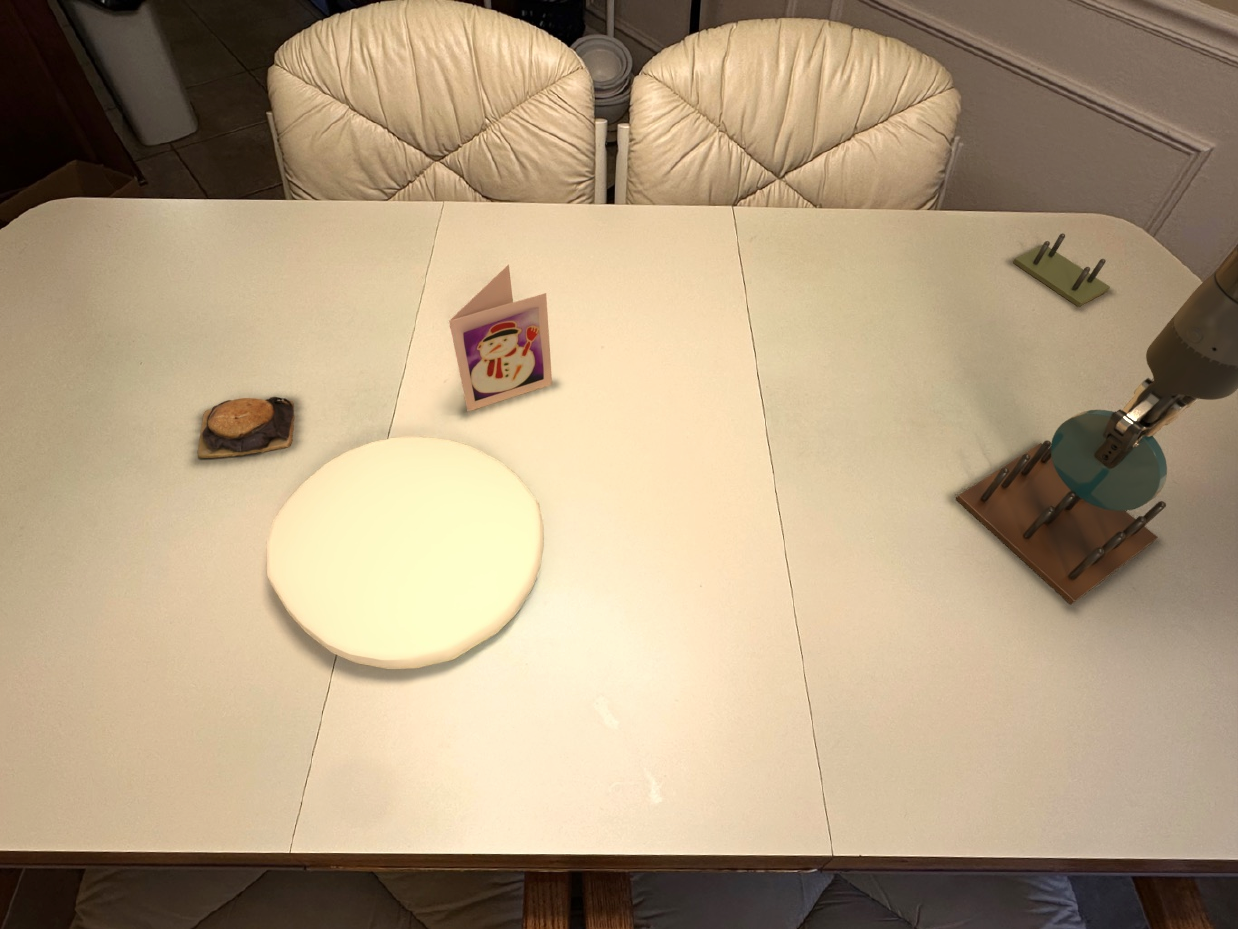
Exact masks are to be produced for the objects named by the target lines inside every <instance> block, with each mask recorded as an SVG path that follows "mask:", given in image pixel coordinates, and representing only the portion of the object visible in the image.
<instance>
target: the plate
mask: <svg viewBox="0 0 1238 929" xmlns="http://www.w3.org/2000/svg"><path fill="white" fill-rule="evenodd" d="M541 512H542V511H541V507H540V502H539V501H538V500H537V499H536V497H535V496H534V495H533V494H532V492H531V491H530V490H529V488H528V487H527V486H526V484H524V482H523V481H522V480H521V478H520V477H519V475H517V474H516V473H515V472H514V471H513V470H512V469H510V468H509V467H508V466H507V465H505V464H504V463H503V462H502V461H500V460H498V459H496V458H494V457H492V456H490V455H489V454H486V453H484V452H483V451H481V450H479V449H477V448H475V447H473V446H471V445H468V444H466V443H462V442H458V441H455V440H452V439H445V438H444V439H443V438H438V437H437V438H436V437H427V436H398V437H397V436H396V437H391V438H386V439H380V440H374V441H371V442H368V443H366V444H363V445H360V446H358V447H354V448H352V449H350V450H346V451H344V452H343V453H341V454H340V455H338V456H336V457H334V458H333V459H331V460H330V461H328V462H326V463H324V464H323V465H322V466H321V467H320V468H318V469H317V470H316V471H315V472H314V473H313V474H312V475H311V476H309V477H308V478H307V479H306V480H305V481H303V482H302V483H301V484H300V486H298V488H297V489H296V490H295V491H294V492H293V493H292V494H291V496H289V497H288V499H287V500H286V501H285V503H284V504H283V506H282V507H281V508H280V510H279V511H278V513H277V514H276V516H275V517H274V518H273V520H272V522H271V525H270V528H269V531H268V534H267V537H266V542H265V546H266V547H265V548H266V550H265V551H266V575H267V580H268V582H269V583H270V585H271V587H272V589H273V590H274V592H275V593H276V595H277V597H278V598H279V600H280V601H281V603H282V604H283V606H284V608H285V609H286V611H287V613H288V614H289V616H290V617H291V618H292V619H293V620H294V621H295V622H296V623H297V624H298V626H300V628H301V629H302V630H303V631H304V632H305V633H306V634H307V635H309V636H310V637H311V638H313V639H314V640H315V641H316V642H317V643H319V644H320V645H321V646H323V647H324V649H327V650H328V651H329V652H331V653H332V654H334V655H336V656H338V657H341V658H343V659H345V660H348V661H350V662H352V663H355V664H357V665H365V666H370V667H375V668H381V669H387V670H401V669H403V670H405V669H418V668H423V667H428V666H432V665H436V664H440V663H445V662H449V661H453V660H456V659H458V658H459V657H460V656H462V655H463V654H465V653H467V652H468V651H470V650H472V649H473V648H475V647H476V646H478V645H480V644H482V643H483V642H484V641H486V640H488V639H489V638H491V637H493V636H495V635H496V634H498V633H499V632H500V631H501V630H502V629H503V628H504V627H505V626H506V625H507V624H508V623H509V622H510V621H511V620H512V619H513V618H514V617H515V616H516V615H517V613H518V611H520V609H521V607H522V606H523V604H524V603H525V601H526V599H527V598H528V597H529V595H530V594H531V592H532V591H533V588H534V585H535V583H536V580H537V578H538V575H539V573H540V570H541V565H542V559H543V553H544V546H545V542H544V541H545V540H544V539H545V538H544V537H545V536H544V533H545V532H544V530H545V529H544V522H543V517H542V513H541Z"/></svg>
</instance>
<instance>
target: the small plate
mask: <svg viewBox="0 0 1238 929" xmlns="http://www.w3.org/2000/svg"><path fill="white" fill-rule="evenodd" d="M1114 412H1115V411H1114V410H1113V411H1112V410H1106V409H1088V410H1085V411H1081V412H1079V413H1076V414H1074V415H1073V416H1071V417H1069V418H1067V419H1066V420H1065V421H1064V422H1062V423H1061V424H1060V425H1059V426H1058V427H1057V428H1056V430H1055V432H1054V434H1053V436H1052V439H1051V456H1052V461H1053V464H1054V467H1055V469H1056V471H1057V473H1058V475H1059V476H1060V478H1061V479H1062V481H1063V482H1064V483H1065V485H1066V486H1067V487H1068V488H1069V489H1070V490H1071V491H1074V492H1075V493H1076V495H1077V496H1079V497H1080V498H1081V499H1083V500H1085V501H1086V502H1088V503H1090V504H1092V505H1094V506H1097V507H1100V508H1103V509H1107V510H1113V511H1126V512H1127V511H1128V512H1129V511H1133V510H1136V509H1139V508H1141V507H1143V506H1145V505H1147V504H1148V503H1149V502H1151V501H1152V500H1153V499H1154V498H1156V497H1158V495H1159V494H1160V493H1161V492H1162V490H1163V489H1164V487H1165V484H1166V481H1167V477H1168V465H1167V459H1166V456H1165V453H1164V451H1163V448H1162V447H1161V445H1160V444H1159V442H1158V440H1157V439H1156V438H1155V436H1150V437H1145V438H1144V439H1143V440H1142V441H1141V442H1140V445H1139V446H1137V447H1134V448H1133V449H1132V450H1131V451H1130V452H1129V453H1128V455H1127V456H1126V457H1125V458H1124V459H1123V460H1122V461H1121V462H1120V463H1119V464H1118V465H1117V466H1116V467H1114V468H1112V469H1110V468H1107V467H1106V466H1105V465H1103V464H1102V463H1101V462H1100V461H1098V460H1097V459H1096V458H1095V456H1094V454H1095V453H1096V451H1097V450H1098V449H1099V448H1100V447H1101V446H1102V445H1103V443H1104V442H1105V441H1106V440H1107V439H1106V438H1105V437H1103V433H1104V431H1105V428H1106V426H1107V424H1108V421H1109V419H1110V417H1111V415H1112V414H1113V413H1114Z"/></svg>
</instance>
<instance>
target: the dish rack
mask: <svg viewBox="0 0 1238 929" xmlns="http://www.w3.org/2000/svg"><path fill="white" fill-rule="evenodd" d="M1051 443H1052V441H1051V440H1048V439H1047V440H1044V441H1043V442H1041V443H1039V444H1037V445H1036V446H1034V447H1033V448H1031V449H1029V450H1028V451H1026V452H1024V453H1023V454H1021V455H1020V456H1018V457H1017V458H1015V459H1013V460H1012V461H1010V462H1008V463H1007V464H1005V465H1003V467H1000V468H999V469H997V470H996V471H994V472H993V473H991V474H989V475H988V476H987V477H985V478H983V479H982V480H980V481H979V482H977V483H976V484H974V485H972V486H971V487H968V489H966V490H964V491H962V492H961V493H960V494H958V495H957V496H956V498H955V500H956V501H957V502H959V504H961V505H962V506H963V507H964V508H965V509H966V510H967V511H969V513H970V514H971V515H973V517H975V518H976V519H977V520H978V521H979V522H980V523H981V524H982V525H983V526H984V527H986V529H988V530H989V531H990V532H991V533H992V534H993V535H994V536H996V538H997V539H999V540H1000V541H1001V542H1002V543H1003V544H1004V545H1005V546H1006V547H1007V548H1009V549H1010V550H1011V551H1012V552H1013V553H1014V554H1015V555H1016V556H1017V557H1018V558H1020V560H1021V561H1022V562H1024V563H1025V564H1026V565H1027V566H1028V567H1029V568H1030V569H1031V570H1033V571H1034V572H1035V573H1036V574H1037V575H1038V576H1039V577H1040V579H1042V580H1043V581H1044V582H1046V583H1047V585H1049V586H1050V588H1052V589H1053V590H1054V591H1056V593H1058V594H1059V595H1060V596H1061V597H1062V598H1063V599H1064V600H1066V601H1067V602H1068V603H1069V605H1072V604H1073V603H1075V602H1076V601H1077V600H1079V599H1081V597H1083V596H1084V595H1086V593H1088V592H1089V591H1091V590H1092V589H1093V588H1094V587H1095V586H1097V585H1098V584H1099V583H1101V582H1102V581H1104V580H1105V579H1106V578H1108V576H1110V575H1111V574H1112V573H1114V572H1115V571H1116V570H1118V569H1119V568H1121V567H1122V566H1123V565H1125V564H1126V563H1127V562H1128V561H1130V560H1131V559H1132V558H1133V557H1135V556H1136V555H1138V554H1140V552H1141V551H1143V550H1144V549H1146V548H1147V547H1148V546H1149V545H1150V544H1152V543H1153V542H1154V541H1155V540H1157V539H1158V536H1157V535H1156V534H1155V533H1154V532H1152V531H1151V530H1150V529H1148V528H1147V527H1146V525H1148V524H1149V523H1150V522H1151V521H1152V520H1153V519H1154V518H1155V517H1156V516H1158V514H1160V513H1161V512H1163V510H1164V509H1165V508H1166V507H1167V503H1166V502H1165V501H1163V500H1159V501H1158V502H1156V503H1155V505H1153V507H1151V508H1150V509H1149V510H1148V511H1147V512H1146V513H1144V514H1143V515H1139V516H1137V518H1135V517H1134V516H1132V515H1131V514H1130V513H1129V512H1127V511H1113V510H1107V509H1103V508H1100V507H1097V506H1094V505H1092V504H1090V503H1088V502H1086V501H1085V500H1083V499H1081V498H1080V497H1079V496H1077V495H1076V493H1075V492H1074V491H1071V490H1070V489H1069V488H1068V487H1067V486H1066V485H1065V483H1064V482H1063V481H1062V479H1061V478H1060V476H1059V475H1058V473H1057V471H1056V469H1055V467H1054V464H1053V461H1052V456H1051Z"/></svg>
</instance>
